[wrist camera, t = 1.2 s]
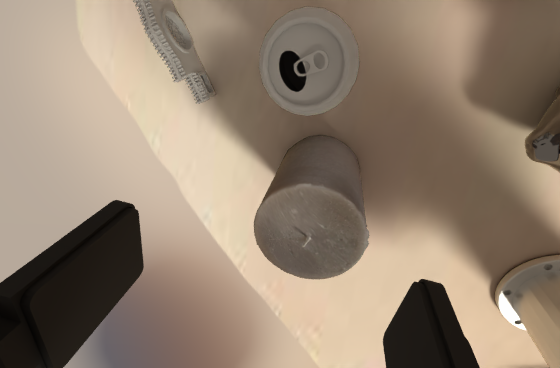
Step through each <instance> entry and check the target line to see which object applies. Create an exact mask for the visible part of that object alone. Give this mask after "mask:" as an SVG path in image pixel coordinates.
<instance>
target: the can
mask: <svg viewBox="0 0 560 368" xmlns="http://www.w3.org/2000/svg"><path fill="white" fill-rule="evenodd" d="M359 63H360V62H359V51H358V44H357V42H356V39H355V37H354V35H353V33H352V30H351V28H350V27H349V26H348V25H347V24H346V23H345V22H344V21H343V20H342V19H341V18H340V16H338V15H336V14H334V13H332V12H330V11H328V10H326V9H324V8H318V7H307V6H306V7H303V8H299V9H296V10H292V11H289V12H288V13H287V14H285V15H284V16H282V17H281V18H280V19H278V20H277V21H276V22H275V23H274V24H273V26H272V27H271V28H270V30H269V31H268V33H267V34H266V35H265V38H264V41H263V44H262V47H261V50H260V59H259V70H260V74H261V79H262V83H263V85H264V87H265V89H266V91H267V92H268V94H269V96H270V97H271V98H272V99H273V100H274V101H275V102H276V103H277V104H278V105H279V106H280V107H281V108H283V109H285V110H287V111H289V112H291V113H293V114H298V115H305V116H311V115H317V114H322V113H325V112H327V111H328V110H330V109H332V108H334V107H336V106H337V105H338V104H339V103H340V102H341V101H342V100H343V99H344V98H345V97H346V96H347V95H348V94H349V92H350V90H351V88H352V86H353V85H354V83H355V81H356V78H357V73H358V68H359Z"/></svg>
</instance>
